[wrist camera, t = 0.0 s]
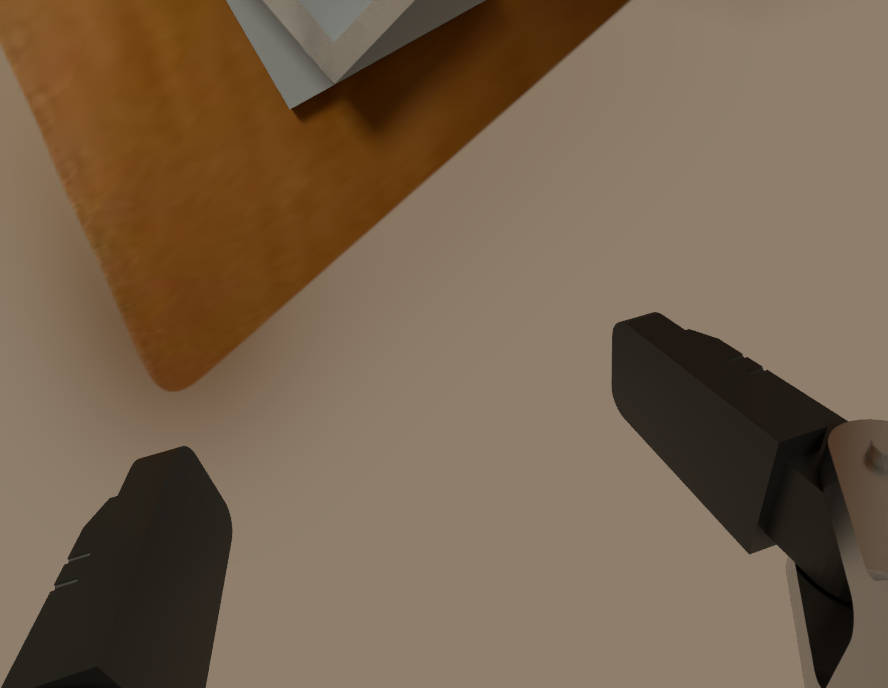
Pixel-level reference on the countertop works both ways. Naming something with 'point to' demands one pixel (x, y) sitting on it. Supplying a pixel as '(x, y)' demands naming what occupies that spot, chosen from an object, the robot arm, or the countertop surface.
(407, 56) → the countertop surface
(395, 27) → the board
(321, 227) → the countertop surface
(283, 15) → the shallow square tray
